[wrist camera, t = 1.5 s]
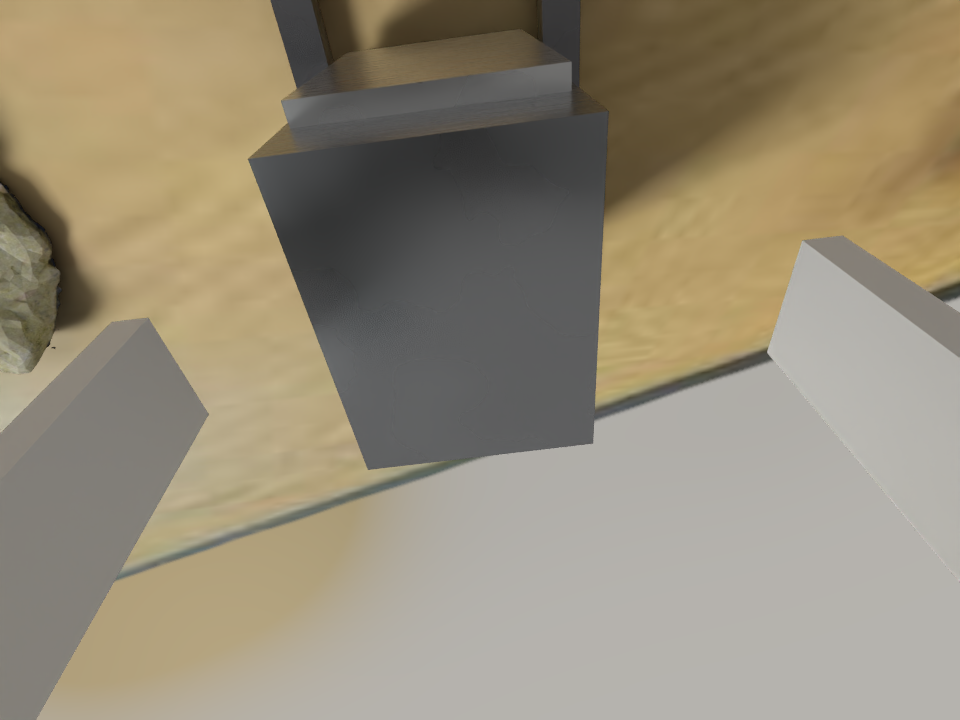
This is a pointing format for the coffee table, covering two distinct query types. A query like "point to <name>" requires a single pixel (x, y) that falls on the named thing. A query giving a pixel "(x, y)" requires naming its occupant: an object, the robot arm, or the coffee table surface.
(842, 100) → the coffee table surface
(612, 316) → the coffee table surface
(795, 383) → the robot arm
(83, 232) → the coffee table surface
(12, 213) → the rock
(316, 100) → the grey stepped block
